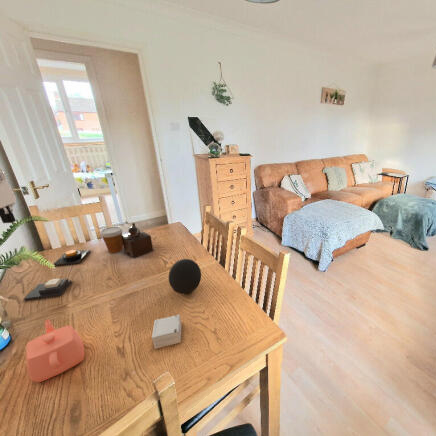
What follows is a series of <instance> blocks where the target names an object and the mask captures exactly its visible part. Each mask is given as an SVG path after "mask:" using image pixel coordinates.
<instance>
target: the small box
mask: <svg viewBox="0 0 436 436" xmlns="http://www.w3.org/2000/svg"><path fill="white" fill-rule="evenodd" d="M152 328H153V329H152V335H151V340H152V344H153V349H154V350H157V349H160V348H165V347H169V346H172V345H176V344H179V343H181V341H182V321H181V315H180V314H176V315H172V316H167V317H162V318H157V319H154V323H153V327H152Z"/></svg>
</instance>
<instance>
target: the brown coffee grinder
mask: <svg viewBox="0 0 436 436" xmlns="http://www.w3.org/2000/svg"><path fill="white" fill-rule="evenodd" d="M121 239H122V243H123V252H124V253H125V254H126V255H127V256H129V257H131V258H133V259H135V258H137V257H142V256H143V255H146V254H148V253H151V252H153V251H154V247H153V241H152V236H151V234H148V233H147V232H145V231H143V230H140V229H139V228H138V227H137V226H136V223H135V222H133V223H131V227H128V233H127V234H124V235H122V236H121Z"/></svg>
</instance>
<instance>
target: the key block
mask: <svg viewBox="0 0 436 436" xmlns="http://www.w3.org/2000/svg"><path fill="white" fill-rule="evenodd" d="M75 250H76V249H75ZM76 252H77V254H75V255H73V256H66V254H65V253H66V252H64V253H62V255H61V256H60V257H59V258H58V259H57V260H56V261H55V262H53V264H54V265H55V266H54V267H62V266H72V265H73V266H74V265H80V264H81V263H82V262H83V261H84V259H85V258H87V256H88V255H89V254H90V253H91V250H90V249H84V250H78V249H77V250H76Z"/></svg>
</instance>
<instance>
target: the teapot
mask: <svg viewBox="0 0 436 436" xmlns="http://www.w3.org/2000/svg"><path fill="white" fill-rule="evenodd" d="M44 326H45V333H44V334H41V335H39V336H37V337H35V338H33V339H31V340H30V341H28V342H27V344H26V350H25V351H26V353H25V355H26V367H27V372H28V377H29V378H30V380H31V381H33V382H34V383H41V382H44V381H46V380H48V379H50V378H53V377H56V376H57V375H60V374H62V373H64V372H66V371H68V370H69V369H71V368H73V367H75V366H76V365H78V364H80V363H81V362H82V361H83V360H84V359H85V347H84V343H83V340H82V338H81V336H80V334H79V332H77V330H76V329H75V328H74V327H73V326H71V325H65V326H62V327H59V328H55V327H54V326H53V323H52V321H51V320H50V319H46V320H45V321H44Z"/></svg>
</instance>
